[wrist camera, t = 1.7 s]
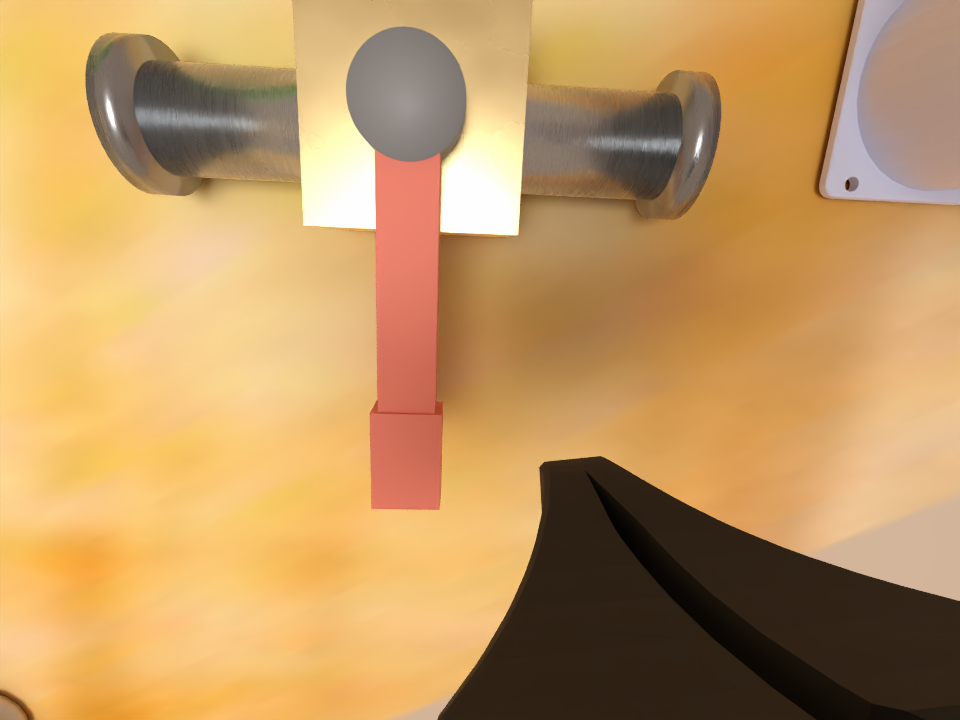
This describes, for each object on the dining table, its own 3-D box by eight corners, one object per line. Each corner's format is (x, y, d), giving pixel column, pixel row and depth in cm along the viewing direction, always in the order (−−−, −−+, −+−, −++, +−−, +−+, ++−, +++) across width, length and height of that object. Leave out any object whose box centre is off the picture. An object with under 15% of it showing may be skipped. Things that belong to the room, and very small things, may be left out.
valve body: (666, 72, 16) (747, 5, 12) (644, 244, 18) (709, 244, 13) (174, 39, 16) (52, -47, 11) (193, 223, 17) (93, 215, 12)
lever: (356, 45, 11) (344, 22, 10) (467, 53, 12) (468, 30, 10) (365, 489, 14) (356, 511, 13) (453, 490, 15) (452, 512, 13)
